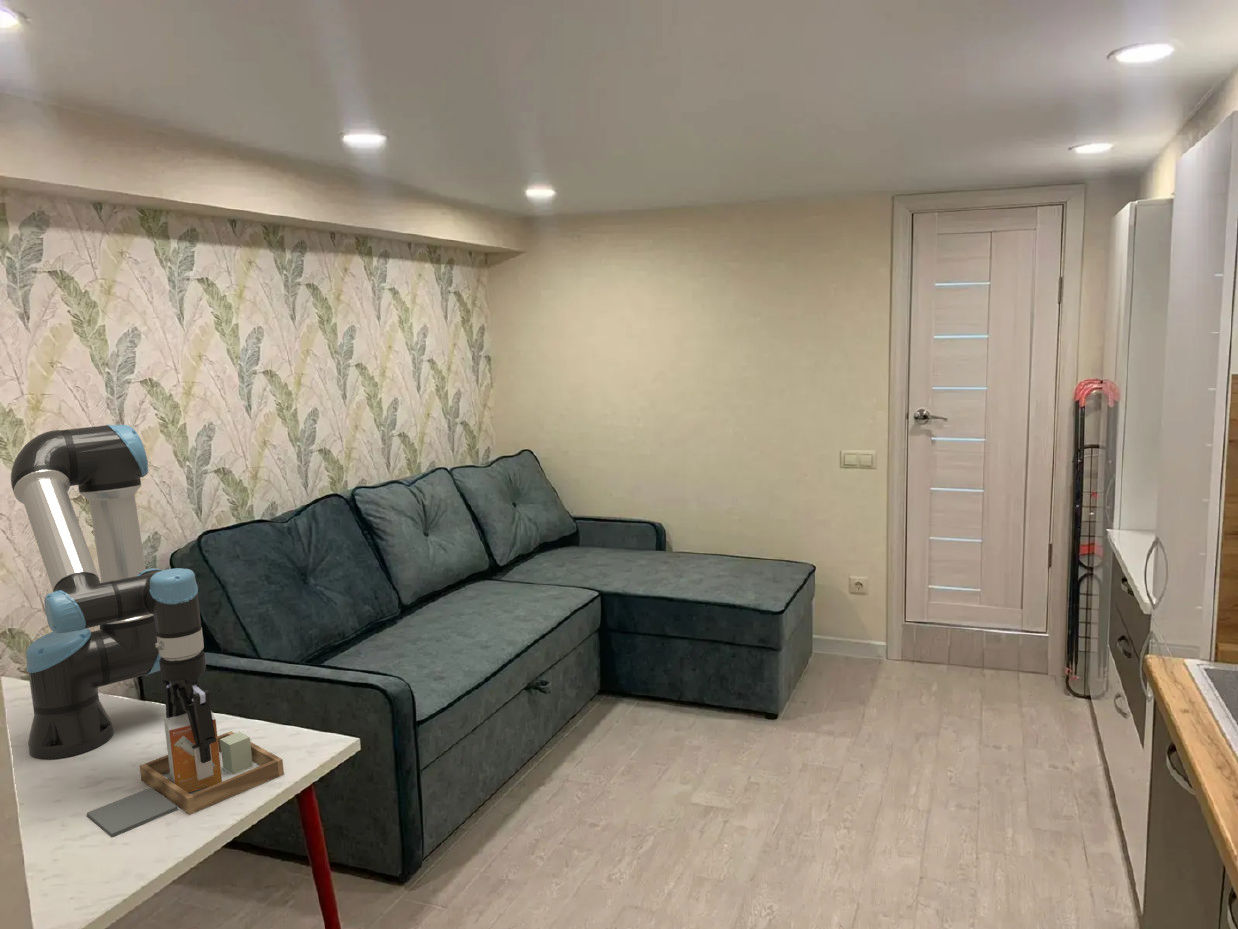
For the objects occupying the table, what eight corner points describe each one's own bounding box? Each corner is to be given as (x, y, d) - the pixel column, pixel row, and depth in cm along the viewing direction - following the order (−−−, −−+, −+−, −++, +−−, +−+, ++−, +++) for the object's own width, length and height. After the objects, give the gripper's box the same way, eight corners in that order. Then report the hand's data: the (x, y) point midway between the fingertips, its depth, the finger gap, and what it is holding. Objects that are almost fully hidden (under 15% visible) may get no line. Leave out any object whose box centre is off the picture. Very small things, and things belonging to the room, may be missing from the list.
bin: (141, 780, 175) (139, 765, 175) (232, 745, 189) (231, 731, 188) (189, 814, 162) (187, 798, 162) (283, 774, 176) (282, 759, 175)
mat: (87, 816, 163) (86, 812, 163) (151, 790, 171) (150, 787, 171) (112, 837, 156) (111, 834, 156) (177, 809, 164) (177, 806, 164)
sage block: (223, 768, 179) (219, 739, 178) (242, 760, 182) (239, 731, 181) (233, 774, 177) (229, 745, 176) (252, 766, 179) (249, 737, 178)
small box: (176, 797, 169) (168, 730, 166) (170, 783, 174) (162, 718, 172) (223, 783, 173) (216, 718, 171) (216, 770, 178) (209, 706, 176)
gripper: (137, 648, 173) (151, 762, 177) (186, 672, 160) (200, 795, 164) (177, 637, 178) (190, 748, 182) (228, 659, 165) (241, 778, 169)
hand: (195, 770), depth 173 cm, fingers closed on small box, 7 cm apart
